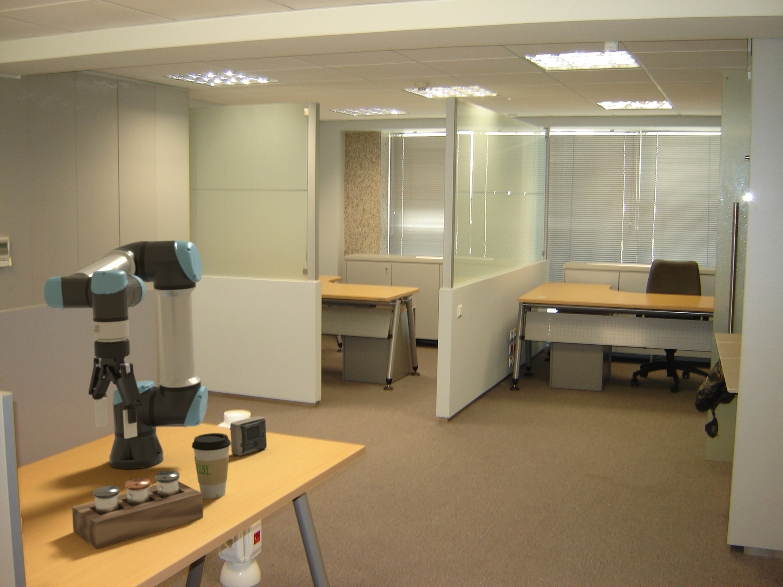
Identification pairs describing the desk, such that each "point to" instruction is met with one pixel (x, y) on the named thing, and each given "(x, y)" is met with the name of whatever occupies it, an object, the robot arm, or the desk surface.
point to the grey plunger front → (106, 499)
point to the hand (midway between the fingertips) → (115, 431)
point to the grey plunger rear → (167, 483)
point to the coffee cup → (212, 463)
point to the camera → (248, 435)
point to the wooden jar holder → (136, 517)
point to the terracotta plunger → (137, 491)
